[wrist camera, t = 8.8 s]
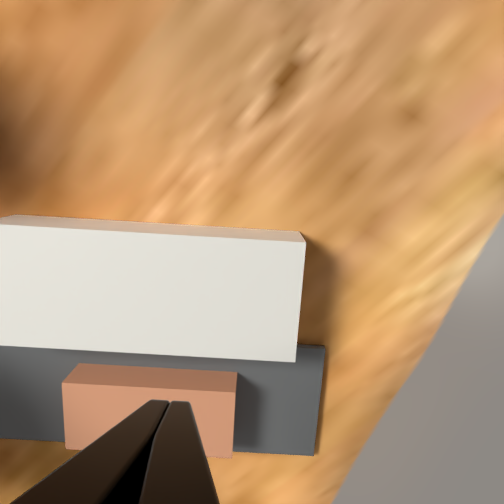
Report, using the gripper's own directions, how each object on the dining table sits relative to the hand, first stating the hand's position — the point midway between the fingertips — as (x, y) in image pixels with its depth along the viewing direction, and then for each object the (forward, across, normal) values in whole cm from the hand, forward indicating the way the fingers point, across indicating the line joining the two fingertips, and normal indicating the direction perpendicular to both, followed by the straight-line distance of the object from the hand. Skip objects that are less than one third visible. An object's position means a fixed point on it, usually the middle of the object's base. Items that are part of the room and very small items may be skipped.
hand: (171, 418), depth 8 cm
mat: (+13, +4, +8) cm, 16 cm away
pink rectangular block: (+11, +3, +8) cm, 14 cm away
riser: (+13, +4, +1) cm, 14 cm away
